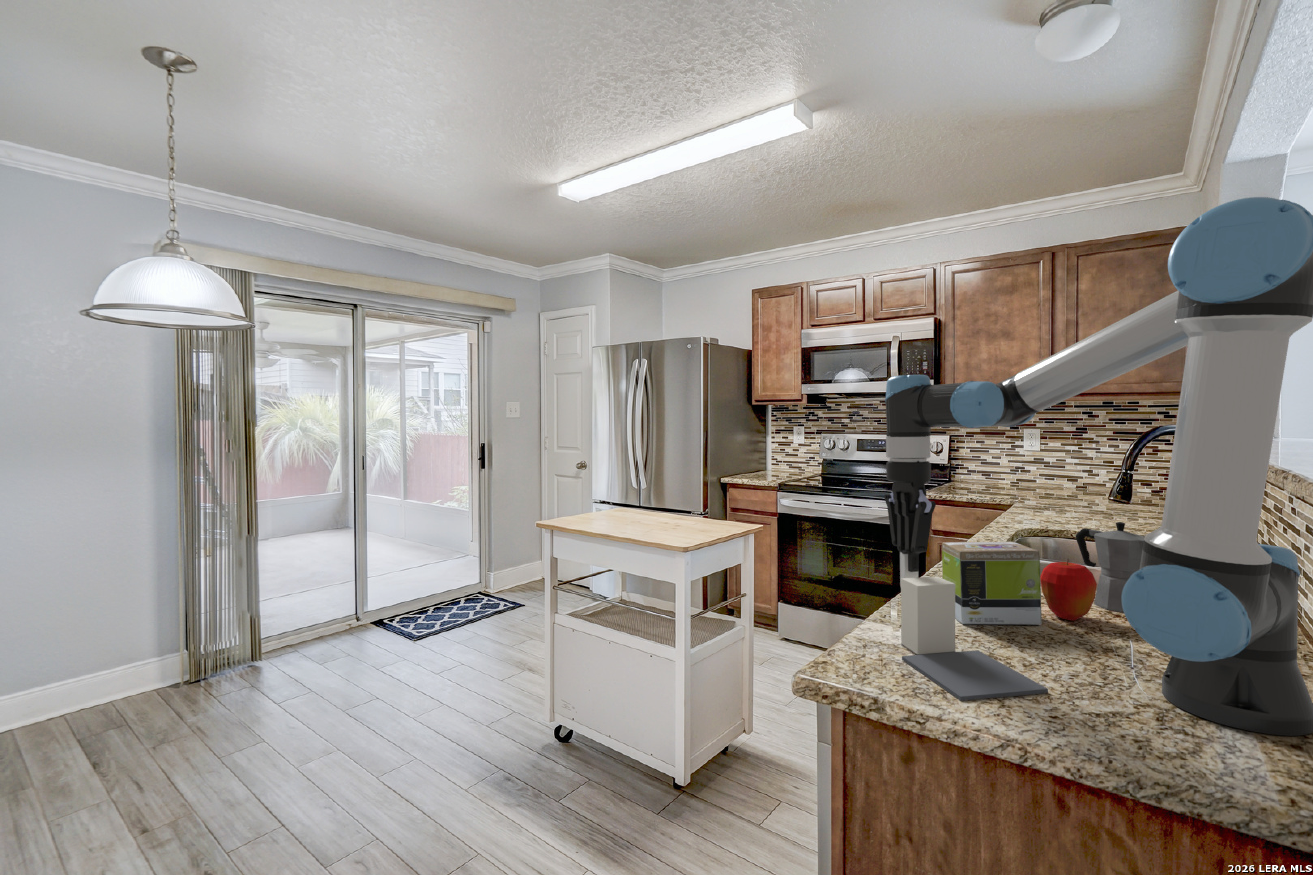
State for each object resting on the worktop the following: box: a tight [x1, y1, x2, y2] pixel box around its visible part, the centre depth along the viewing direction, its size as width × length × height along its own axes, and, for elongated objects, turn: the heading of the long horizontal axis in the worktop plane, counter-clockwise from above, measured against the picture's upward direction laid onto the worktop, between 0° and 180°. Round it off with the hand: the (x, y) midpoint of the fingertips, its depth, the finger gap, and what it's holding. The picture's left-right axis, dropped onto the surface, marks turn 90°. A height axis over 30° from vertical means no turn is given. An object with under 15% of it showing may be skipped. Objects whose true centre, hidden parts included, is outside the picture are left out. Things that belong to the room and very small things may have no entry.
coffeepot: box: [1075, 521, 1145, 614], centre depth 126 cm, size 15×9×18 cm, turn 25°
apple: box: [1040, 559, 1098, 621], centre depth 119 cm, size 9×9×12 cm
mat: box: [901, 649, 1049, 702], centre depth 93 cm, size 15×14×1 cm
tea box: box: [941, 541, 1043, 626], centre depth 120 cm, size 15×10×15 cm
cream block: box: [900, 575, 956, 655], centre depth 104 cm, size 5×7×12 cm
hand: (909, 587), depth 109 cm, fingers closed
